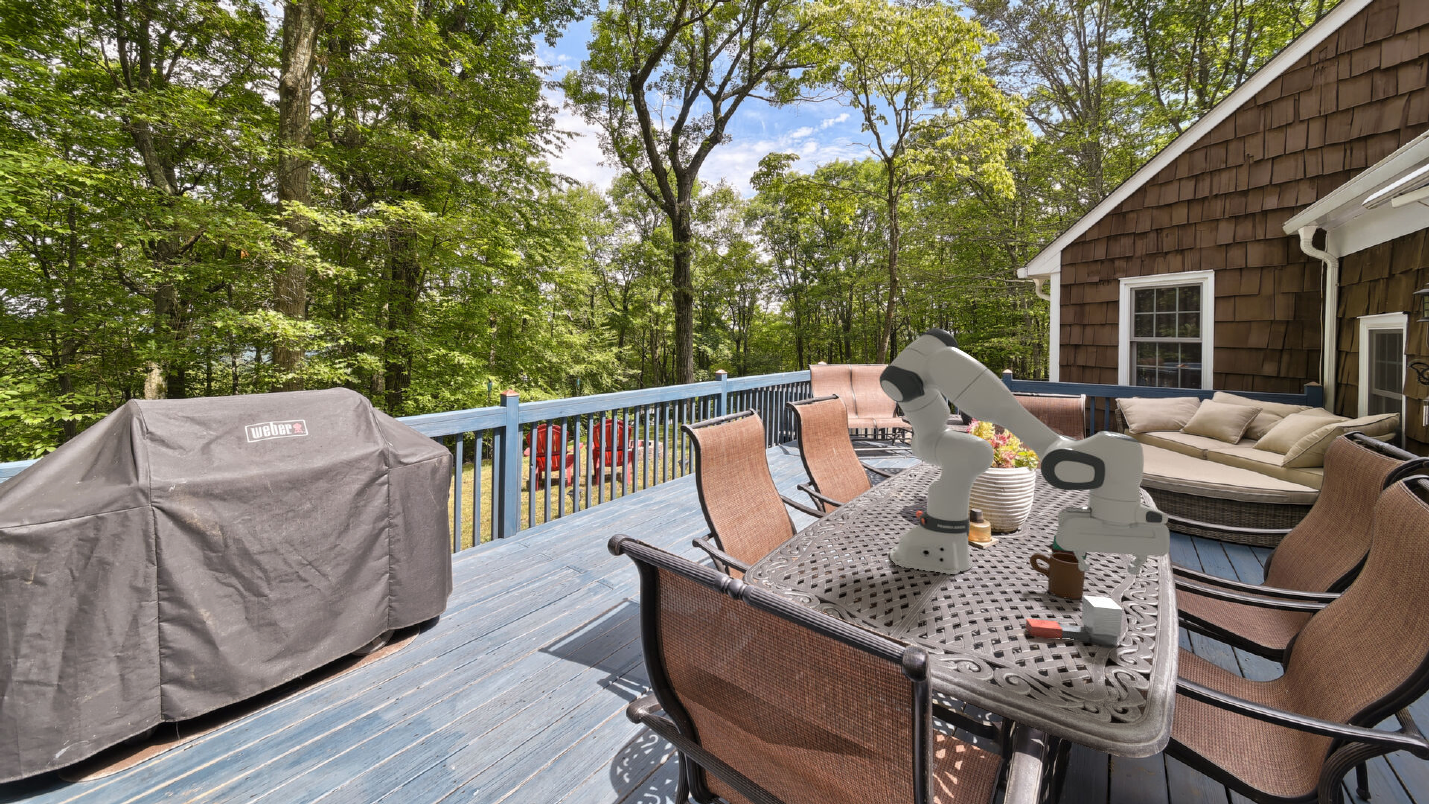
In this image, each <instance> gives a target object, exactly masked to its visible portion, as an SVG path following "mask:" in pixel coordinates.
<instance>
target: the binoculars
mask: <svg viewBox="0 0 1429 804" xmlns="http://www.w3.org/2000/svg"><path fill="white" fill-rule="evenodd" d="M1048 549H1050V550H1051V554H1053V553H1067V554H1072V555H1075V554H1074V551H1067V550H1064V549H1062V548H1061V547H1060V546H1059V545H1058V544H1057V542H1056V534H1054V537H1053V543H1051V544H1049V545H1048ZM1087 554H1088V552H1085V556H1082V557H1083V559H1084V561H1086V559H1087V556H1088V555H1087Z"/></svg>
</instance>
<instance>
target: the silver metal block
mask: <svg viewBox="0 0 1429 804" xmlns="http://www.w3.org/2000/svg"><path fill="white" fill-rule="evenodd" d="M1081 607H1082V609H1081V620H1080V622H1081V623H1082V624H1083V626H1084V625H1085V626H1086V627H1087V628H1088V630H1089V631H1090V632H1091V633H1092V634H1099V635H1110V636H1118V637H1121V632H1122V618H1123V608H1121V606H1119V605H1118V604H1117V603H1116V602H1115V601H1114V600H1113V599H1112V598H1111V597H1105V596H1103V597H1101V596H1093V595H1082V605H1081Z"/></svg>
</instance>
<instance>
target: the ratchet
mask: <svg viewBox="0 0 1429 804" xmlns="http://www.w3.org/2000/svg"><path fill="white" fill-rule="evenodd" d="M1026 629H1027V630H1028V631H1027V630H1026ZM1025 630H1026V631H1027V633H1028V632H1029V633H1030V634H1029V633H1028V634H1029V636H1030V635H1031V636H1036V637H1035V638H1038V637H1043V638H1042V639H1048V638H1060V639H1062V638H1070V639H1074V640H1078V641H1077V642H1086V643H1090V644H1093V645H1095V646H1097V647H1102V648H1108V649H1109V648H1110V649H1112V648H1115V647H1117V645H1118V637H1119V636H1110V635H1099V634H1092V633H1091V632H1090V631H1089V630H1088V628H1087V627H1086V626H1085V625H1084V624H1083V626H1082V625H1071V624H1062V623H1061V624H1060V623H1058V622H1057V621H1054V620H1045V619H1044V620H1043V619H1033V618H1026V619H1025ZM1031 636H1030V637H1031ZM1062 640H1063V639H1062ZM1074 640H1073V641H1074Z"/></svg>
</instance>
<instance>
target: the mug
mask: <svg viewBox="0 0 1429 804" xmlns="http://www.w3.org/2000/svg"><path fill="white" fill-rule="evenodd" d="M1037 560H1041V561H1043V562H1044V563H1045V564H1048V568H1046V567H1045V566H1041V565H1040V564H1038V562H1037ZM1029 563H1030V566H1031V568H1032V569H1033V570H1034V571H1036V572H1037V573H1040V574H1043V576H1045V577H1047V580H1048V582H1047V584H1048V585H1047V588H1048V591H1049V592H1050V593H1051V594H1053V595H1054V594H1055V596H1056V595H1057V597H1059V596H1060V597H1059V598H1062V597H1066V598H1065V599H1067V598H1072V599H1071V600H1078V598H1079V599H1081V598H1083V596H1084V586H1085V577H1086V576H1085V572H1086V571H1081V570H1080V569H1079V567H1078V565H1079V561H1078V559H1077V558H1076V556H1075V555H1072V554H1067V553H1053V554H1052V553H1051V554H1050V557H1049V556H1047V555H1045V554H1044V553H1034V554H1032V555H1031V556H1030V559H1029Z"/></svg>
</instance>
